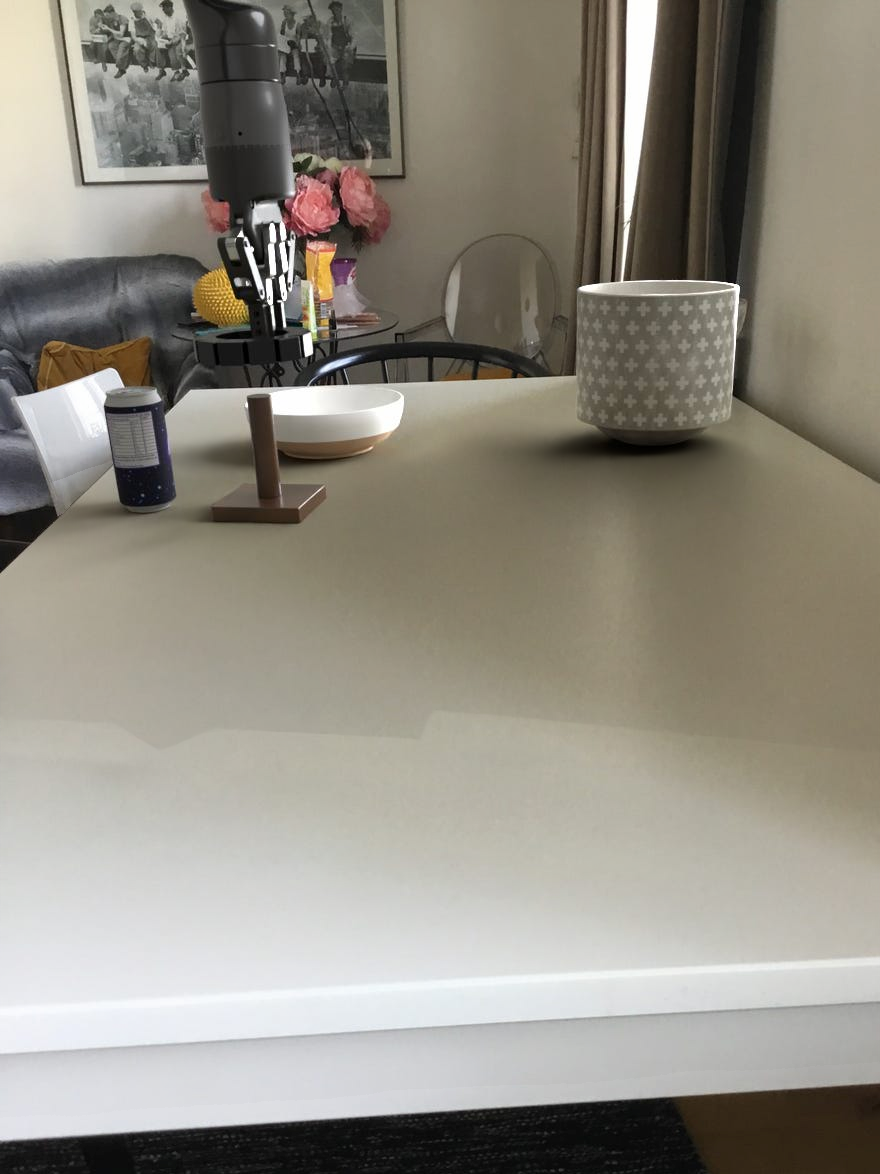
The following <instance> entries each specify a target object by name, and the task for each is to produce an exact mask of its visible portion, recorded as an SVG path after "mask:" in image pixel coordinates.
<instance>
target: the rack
mask: <svg viewBox="0 0 880 1174" xmlns="http://www.w3.org/2000/svg"><path fill="white" fill-rule="evenodd" d="M246 402H247V405H248V414H249V422H250V424H249V431H250V440H251V448H252V456H253V464H254V465H253V466H254V474H255V483H249V482H248V483H245V482H244V483H242V484H241V485H240V486H238V487H237V488H235V489H234V490H233V491H231V492H230V493H228V494H227V495H226V496H224V497H223V498H221V499H220V500H219V501H217V502H216V503H214V504H213V505H212V506H210V509H211V510H210V511H211V517H212V522H235V523H236V522H237V523H282V524H283V523H286V524H287V523H288V524H291V523H292V524H301V523H302V522H303V520H305V519H306V518H307V517H308V516H309V515H310V514H311V513H312V512H313V511H314V510H316V509H317V508H318V506H320V505H321V504H322V503H323V502H324V501H325V500H326V499H327V488H326V484H325V483H322V484H318V483H315V484H313V483H282V481H281V473H280V472H281V471H280V464H279V463H280V462H279V454H278V453H279V452H278V449H277V443H276V434H275V424H274V415H273V405H272V395H271V394H269V393H253V394H248V395H246ZM249 422H248V423H249Z"/></svg>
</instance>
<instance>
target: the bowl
mask: <svg viewBox="0 0 880 1174" xmlns="http://www.w3.org/2000/svg"><path fill="white" fill-rule="evenodd" d="M268 394H271V395H272V405H273V415H274V424H275V434H276V443H277V450H278V451H281V452H283V453H284V454H285V455H287V456H288V457H292V458H295V459H305V460H331V459H343V458H349V457H353V456H359V455H361V454H365V453H368V452H370V451H371V450H372V449H373V448H374V446H375V445H377V444H379V443H381V442H383V441H385V440H386V439H387V438H389V437H390V435H391V434H392V433H393V432H394V431H395V430H396V428H397V427H399V425H400V421H401V418H402V415H403V411H404V395H403V394H402V393H401V392H399V391H397V390H393V389H390V388H384V387H375V386H364V385H363V386H361V385H335V386H333V385H330V386H328V385H327V386H314V387H303V388H294V389H286V390H281V391H280V390H279V391H274V392H269V393H268ZM244 411H245V416H246V419H247V422H248V424H249V425H250V422H249V414H248V405H247V401H246V402H245V403H244Z"/></svg>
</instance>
